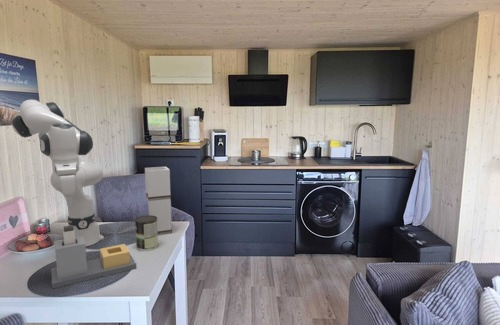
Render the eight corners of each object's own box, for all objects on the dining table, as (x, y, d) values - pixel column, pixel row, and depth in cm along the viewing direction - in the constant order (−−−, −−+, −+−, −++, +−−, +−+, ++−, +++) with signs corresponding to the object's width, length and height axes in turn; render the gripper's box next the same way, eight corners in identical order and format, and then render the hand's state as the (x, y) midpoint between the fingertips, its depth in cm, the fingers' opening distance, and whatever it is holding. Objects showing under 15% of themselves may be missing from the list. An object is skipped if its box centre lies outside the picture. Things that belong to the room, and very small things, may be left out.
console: (51, 273, 131) (48, 240, 129) (129, 256, 146) (127, 226, 144) (52, 288, 119) (48, 252, 117) (136, 268, 135) (134, 236, 132)
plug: (64, 251, 127) (62, 226, 126) (75, 249, 129) (73, 224, 128) (65, 254, 124) (63, 229, 123) (76, 252, 126) (74, 227, 125)
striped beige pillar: (168, 227, 185) (166, 166, 179) (171, 233, 175) (169, 169, 170) (147, 229, 180) (144, 167, 175) (150, 236, 170) (147, 170, 165)
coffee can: (133, 251, 152) (132, 222, 150) (139, 242, 162) (138, 215, 160) (156, 250, 153) (154, 221, 151) (160, 241, 163) (159, 214, 161)
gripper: (56, 164, 130) (59, 197, 132) (56, 171, 112) (59, 209, 114) (74, 163, 133) (77, 195, 135) (76, 169, 115) (79, 207, 117)
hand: (69, 202), depth 124 cm, fingers open, 8 cm apart
